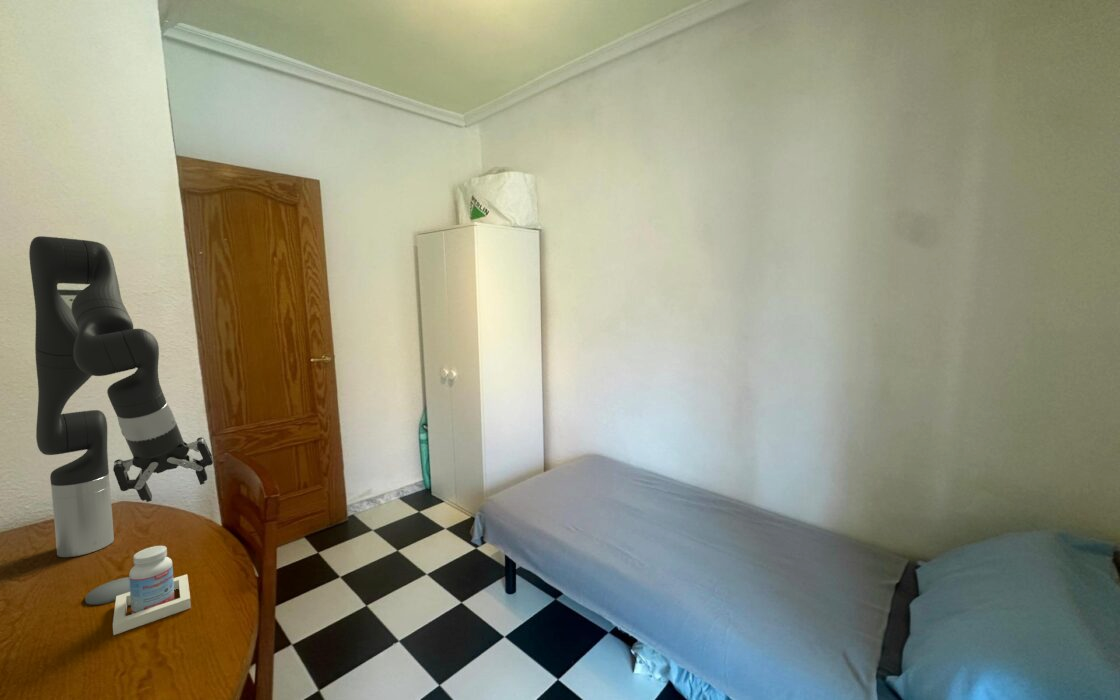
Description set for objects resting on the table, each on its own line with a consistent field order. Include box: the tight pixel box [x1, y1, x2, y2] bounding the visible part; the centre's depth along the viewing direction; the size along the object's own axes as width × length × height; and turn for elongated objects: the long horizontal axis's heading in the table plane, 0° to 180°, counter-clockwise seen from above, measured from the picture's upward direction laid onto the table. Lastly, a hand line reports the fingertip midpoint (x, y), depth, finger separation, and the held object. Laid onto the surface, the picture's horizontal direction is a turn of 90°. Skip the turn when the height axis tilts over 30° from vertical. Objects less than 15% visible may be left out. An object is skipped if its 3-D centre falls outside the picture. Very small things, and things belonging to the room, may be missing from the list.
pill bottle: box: [128, 545, 175, 614], centre depth 82 cm, size 6×6×11 cm
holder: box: [112, 573, 192, 636], centre depth 82 cm, size 10×10×2 cm
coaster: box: [84, 576, 130, 606], centre depth 87 cm, size 8×8×1 cm
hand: (176, 490), depth 90 cm, fingers open, 8 cm apart
